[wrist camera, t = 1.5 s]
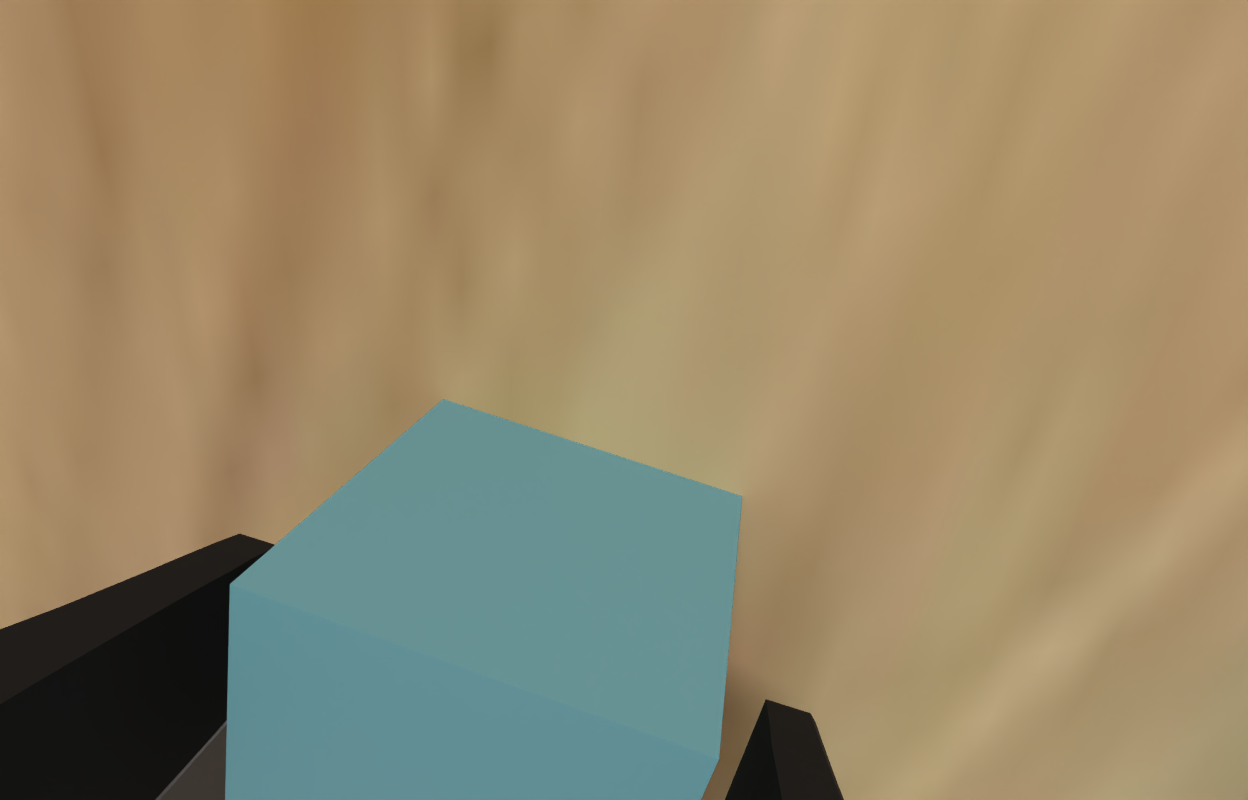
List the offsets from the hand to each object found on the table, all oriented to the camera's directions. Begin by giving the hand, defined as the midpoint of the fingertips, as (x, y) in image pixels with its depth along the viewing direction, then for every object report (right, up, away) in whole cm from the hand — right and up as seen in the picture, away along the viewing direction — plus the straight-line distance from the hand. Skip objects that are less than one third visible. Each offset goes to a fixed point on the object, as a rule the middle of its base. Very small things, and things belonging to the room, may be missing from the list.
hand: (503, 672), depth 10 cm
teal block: (+1, +1, +2) cm, 3 cm away
